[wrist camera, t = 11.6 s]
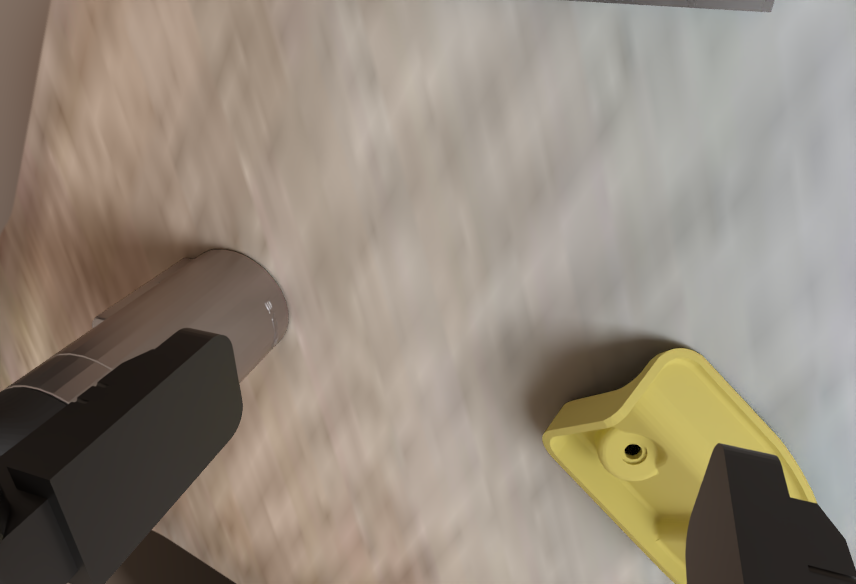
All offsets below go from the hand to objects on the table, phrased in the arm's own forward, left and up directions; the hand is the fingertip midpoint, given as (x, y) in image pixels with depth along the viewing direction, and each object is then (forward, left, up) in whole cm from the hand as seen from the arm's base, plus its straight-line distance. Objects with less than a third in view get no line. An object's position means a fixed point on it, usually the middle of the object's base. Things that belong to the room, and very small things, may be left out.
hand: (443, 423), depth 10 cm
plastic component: (+11, -25, -27) cm, 38 cm away
